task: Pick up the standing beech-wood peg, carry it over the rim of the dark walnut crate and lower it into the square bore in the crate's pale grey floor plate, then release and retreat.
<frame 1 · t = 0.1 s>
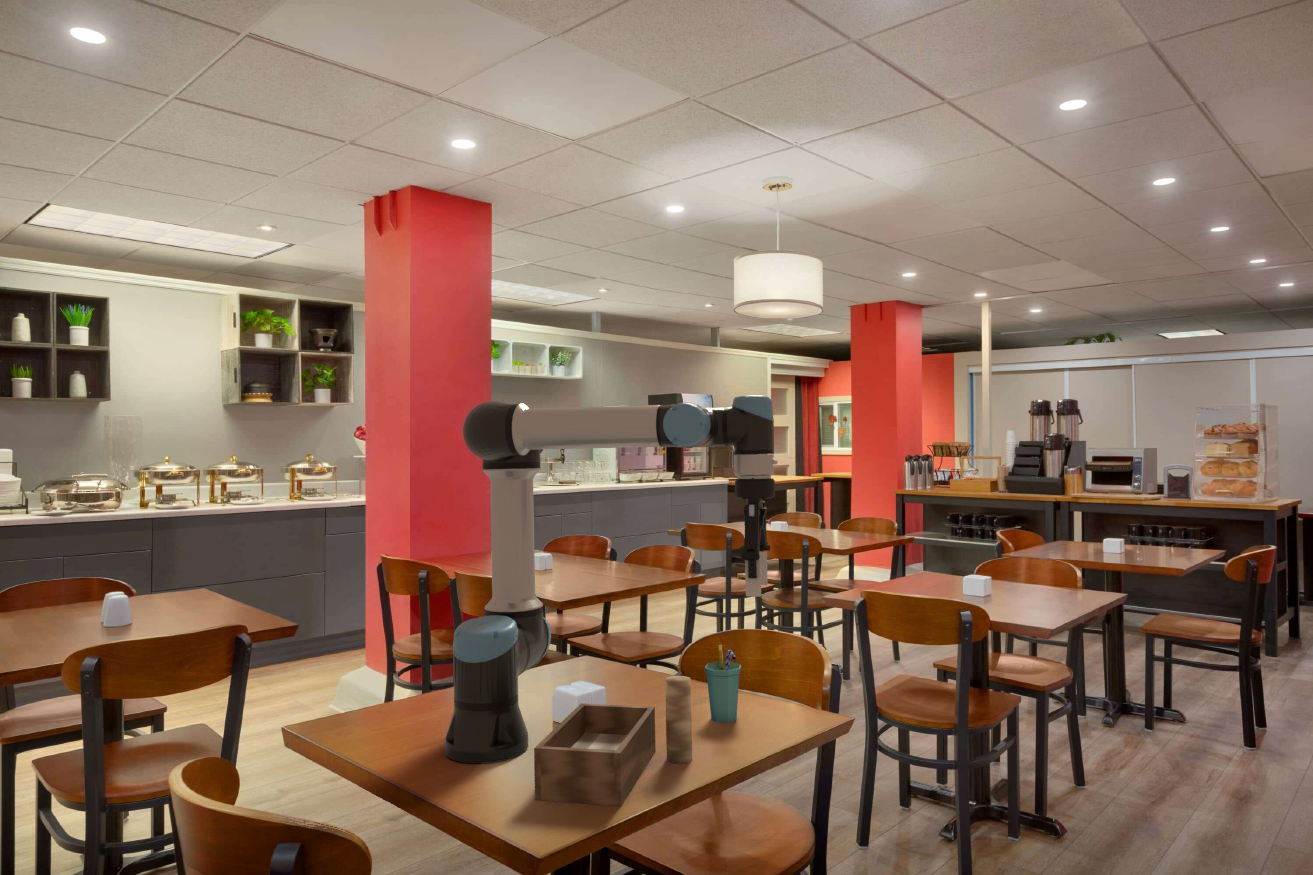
hand: (757, 590, 156), 28 cm above the table, fingers open, 13 cm apart
cup: (725, 720, 167), on the table
crate: (599, 773, 140), on the table
peg: (679, 758, 146), on the table
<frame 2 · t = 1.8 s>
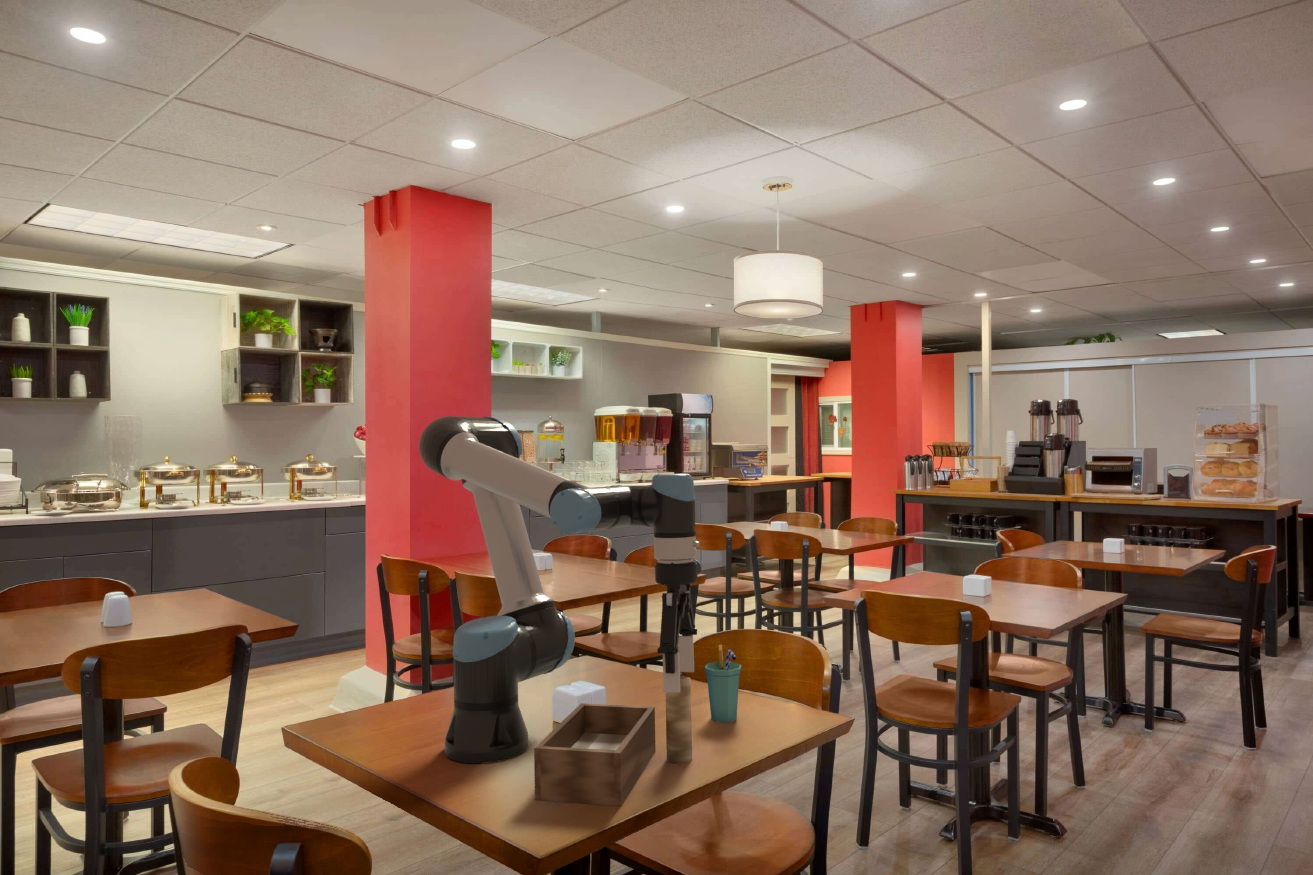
hand: (679, 681, 146), 14 cm above the table, fingers open, 13 cm apart
nothing on the table moved.
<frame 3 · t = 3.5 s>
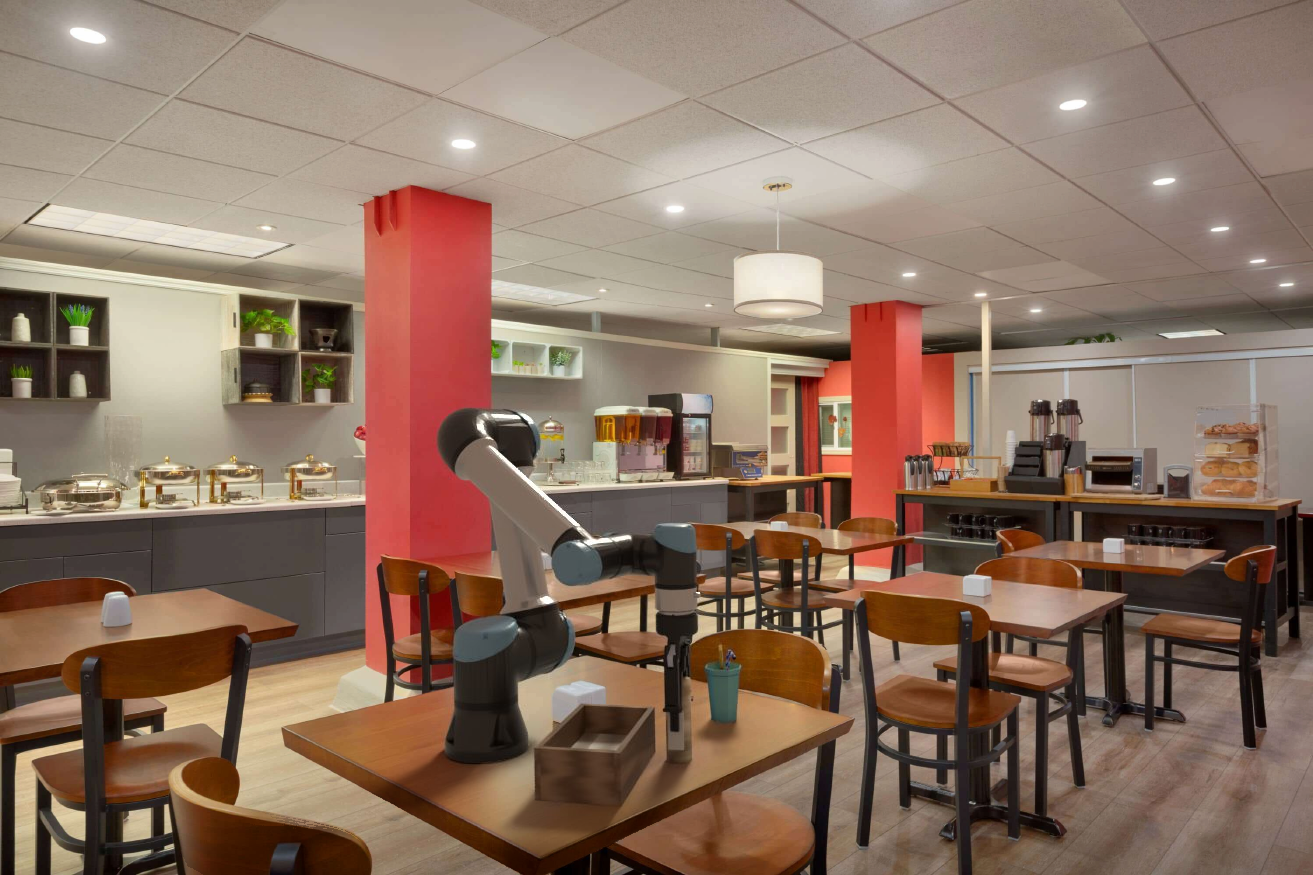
hand: (679, 743, 146), 3 cm above the table, fingers closed on peg, 4 cm apart
peg: (679, 758, 146), on the table, touching gripper
everything else where it was.
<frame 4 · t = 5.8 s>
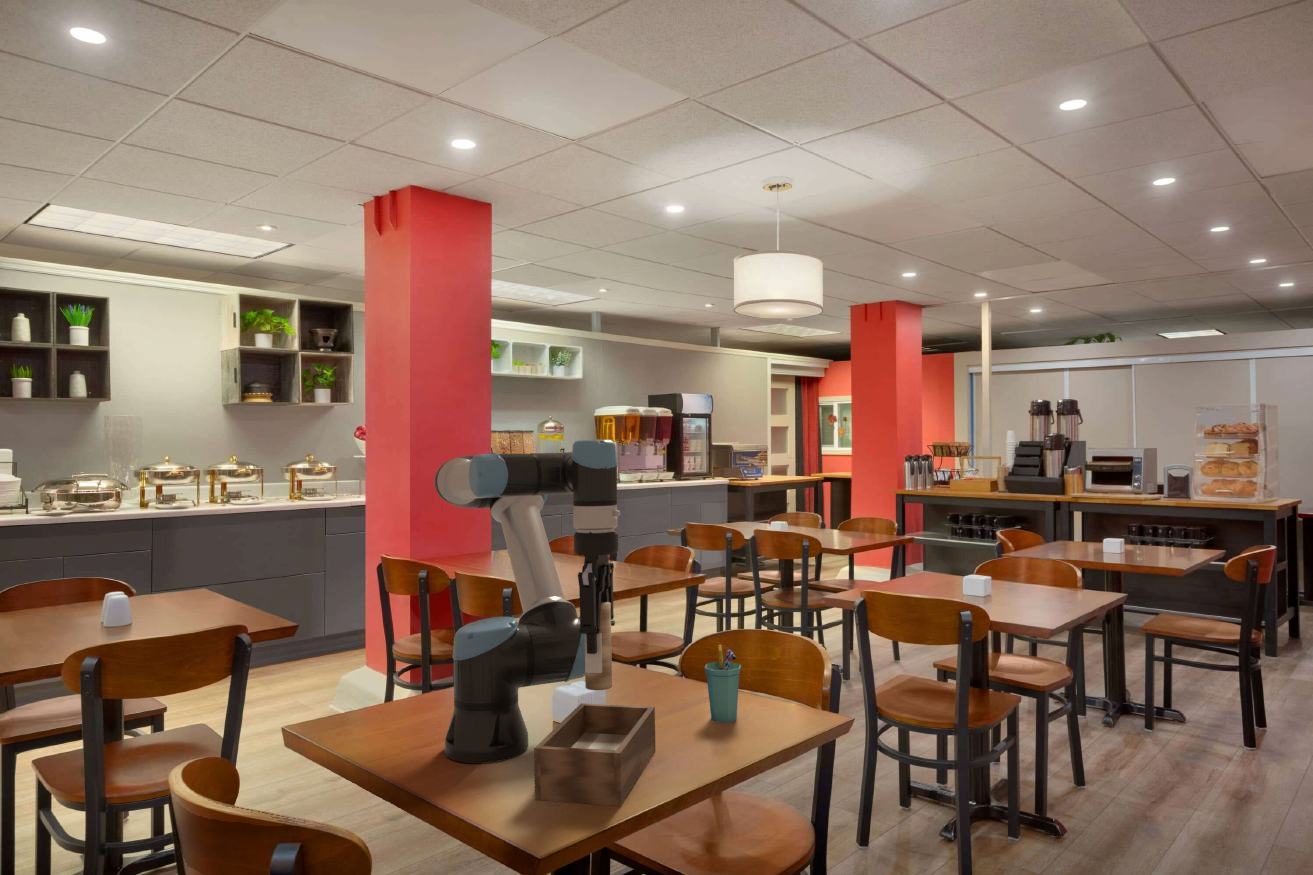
hand: (598, 668, 140), 18 cm above the table, fingers closed on peg, 4 cm apart
peg: (598, 686, 140), point 15 cm above the table, touching gripper
everything else where it was.
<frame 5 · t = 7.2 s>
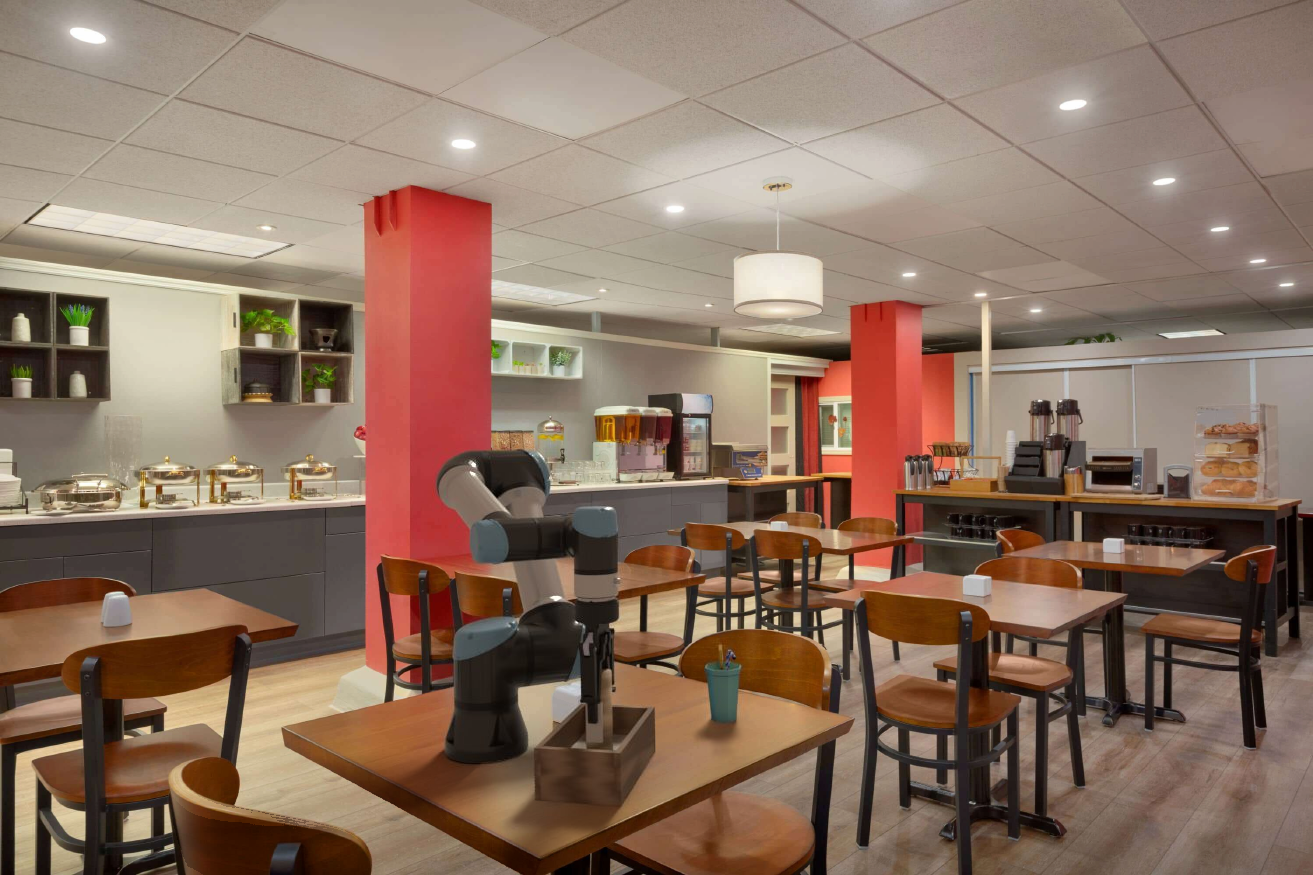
hand: (599, 736, 140), 6 cm above the table, fingers closed on peg, 4 cm apart
peg: (599, 754, 140), point 3 cm above the table, touching gripper
everything else where it was.
when the fingers open (4 cm above the table, at t = 8.2 s): peg stays where it is, resting in crate.
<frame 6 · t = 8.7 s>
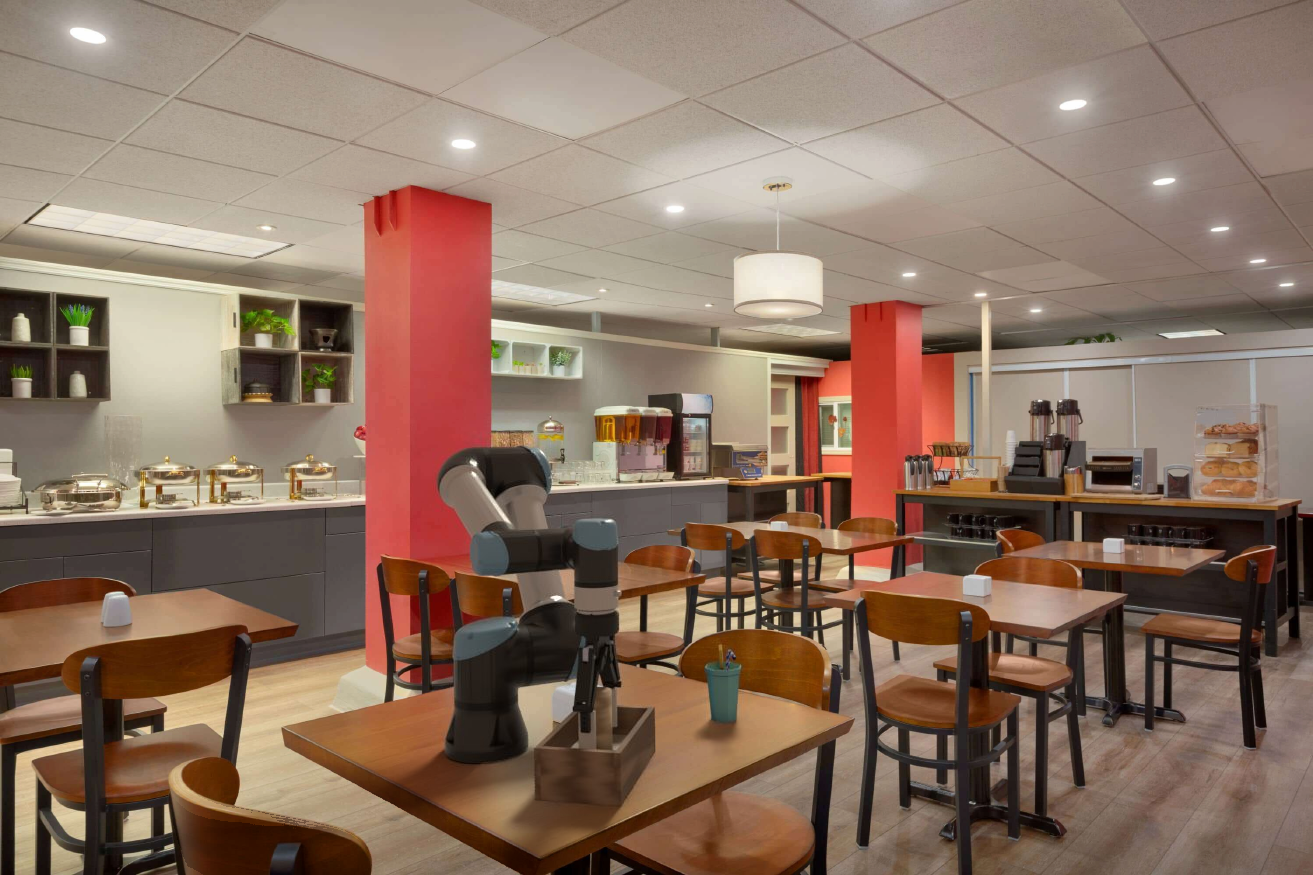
hand: (599, 738, 140), 6 cm above the table, fingers open, 12 cm apart
peg: (599, 773, 140), resting in crate
everything else where it was.
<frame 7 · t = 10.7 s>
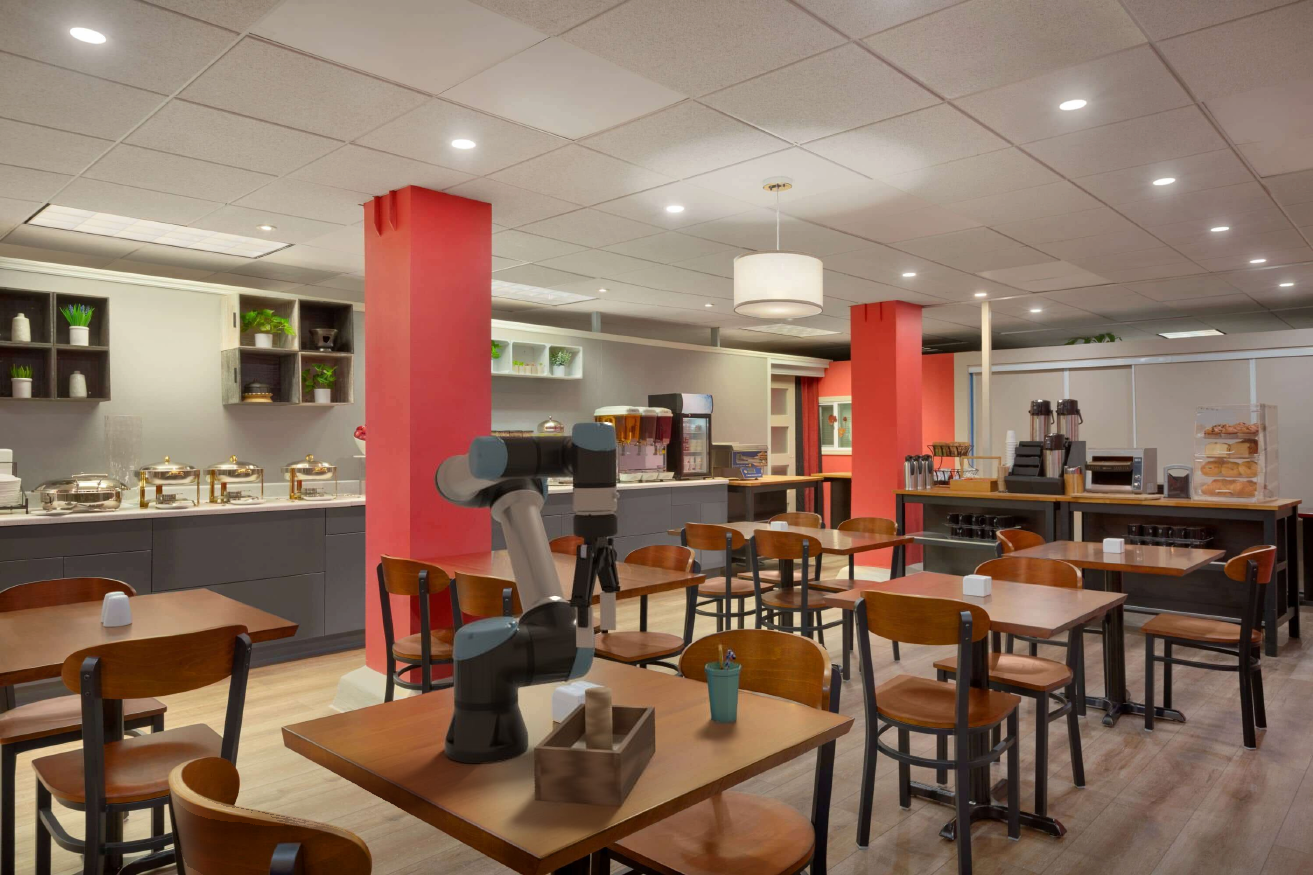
hand: (597, 638, 140), 23 cm above the table, fingers open, 13 cm apart
nothing on the table moved.
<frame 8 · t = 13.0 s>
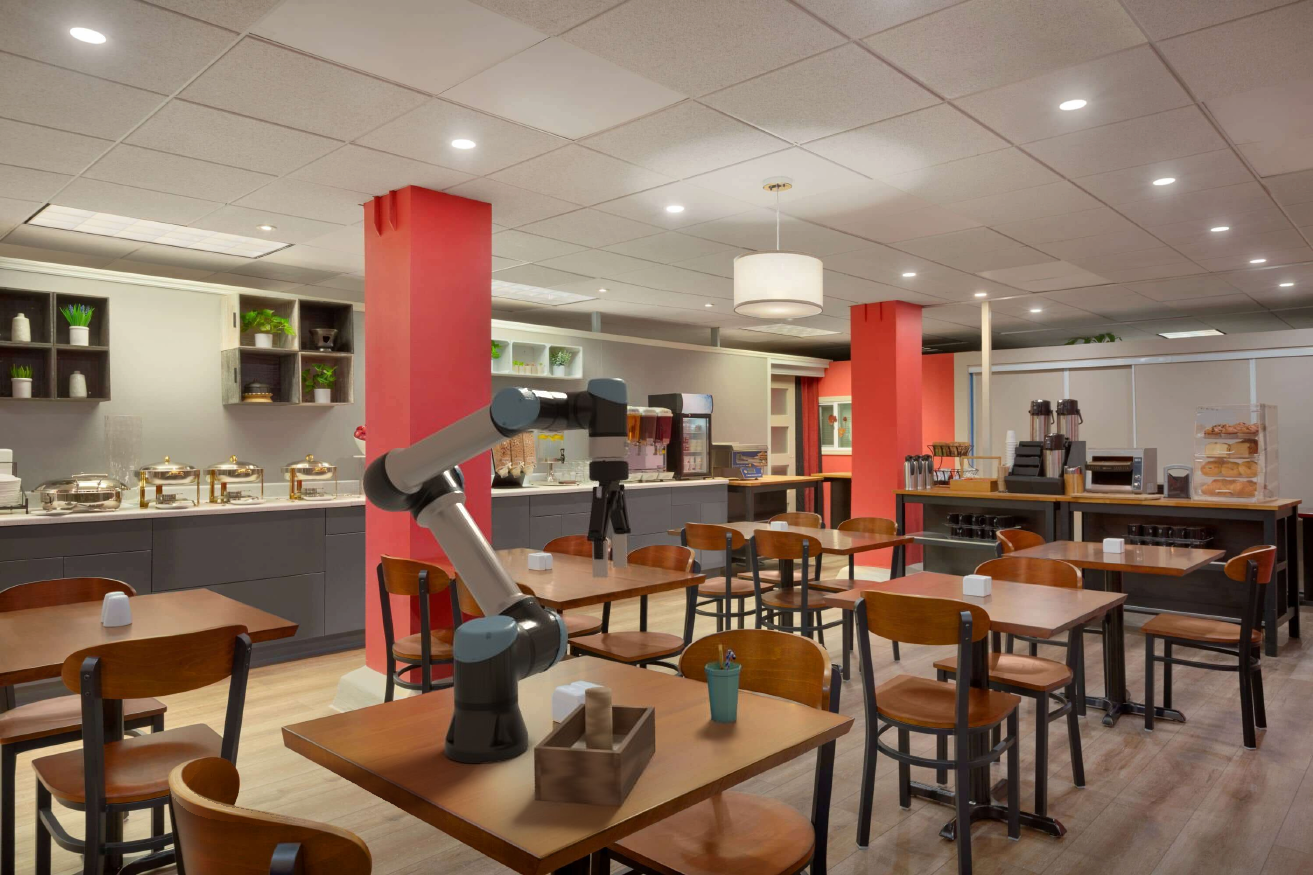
hand: (610, 572, 157), 32 cm above the table, fingers open, 13 cm apart
nothing on the table moved.
at the end: peg 0.0 cm off-centre on the crate, point 0.0 cm above the crate's base; peg tilted 0°; the gripper is holding nothing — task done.
